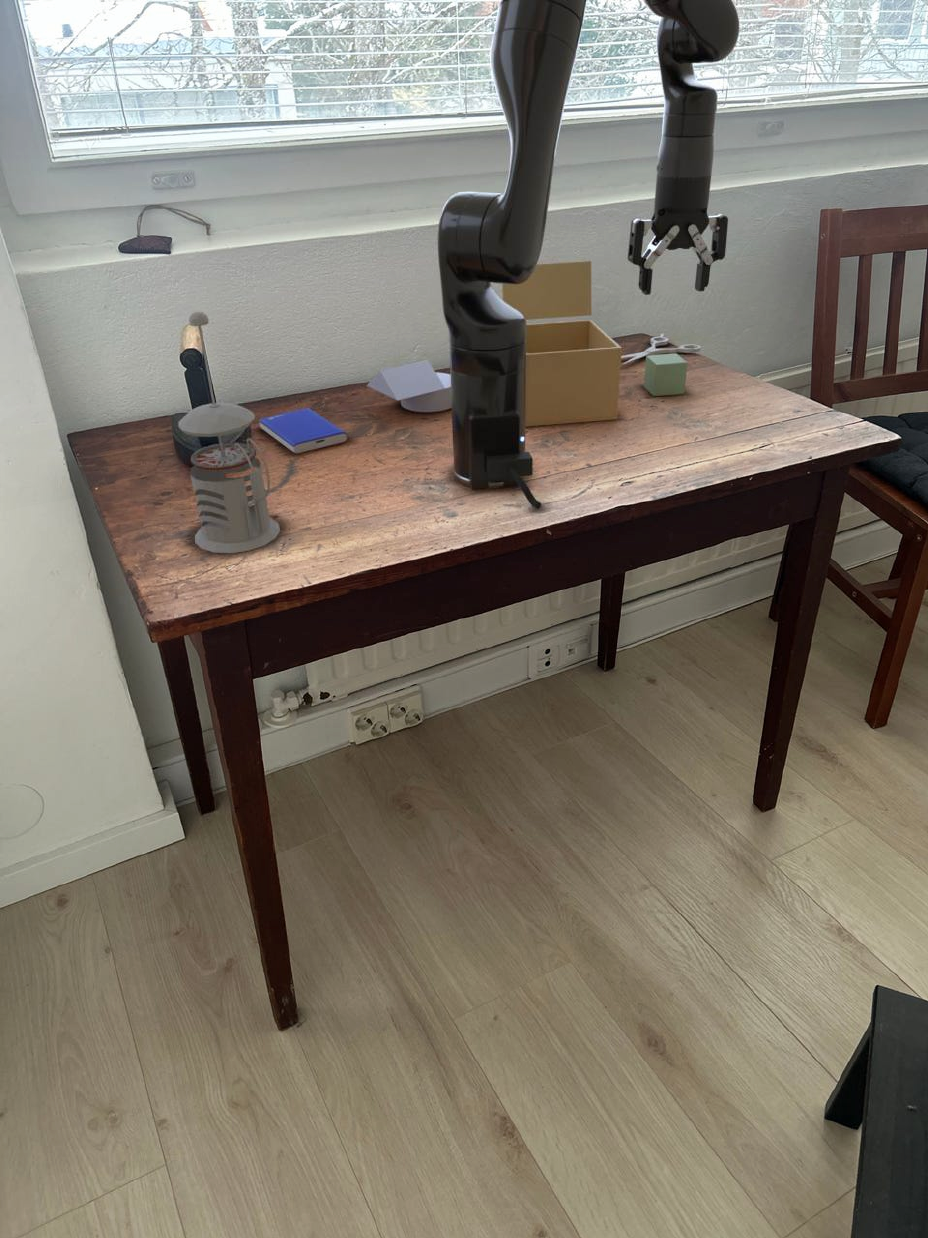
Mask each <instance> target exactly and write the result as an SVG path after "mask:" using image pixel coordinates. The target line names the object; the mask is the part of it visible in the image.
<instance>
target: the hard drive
mask: <svg viewBox="0 0 928 1238" xmlns="http://www.w3.org/2000/svg"><path fill="white" fill-rule="evenodd" d="M258 421H259V427H260V429H261V430H263V431H264V432H266V433H267V434H268V435H269V436H271V437H272V438H274V439H275V440H276V441H278V442H279V443H280V444H282V446H284V447H286V448H287V449H288V450H290V451H291V452H292V453H294V454H301V453H305V452H309V451H313V450H317V449H321V448H324V447H329V446H333V445H337V444H342V443H344V442H347V439H348V438H347V432H346V431H344V430H343V429H341V428H340V427H338V426H337V425H335V424H334V423H332V422H330V421H329V420H327V419H326V418H324V417H323V416H321V415H320V414H318V412H316V411H314V410H312V409H311V408H309V407H307V408H301V409H297V410H293V411H288V412H284V413H279V414H275V415H271V416H266V417H262V418H260V419H259V420H258Z"/></svg>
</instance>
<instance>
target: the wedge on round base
mask: <svg viewBox="0 0 928 1238" xmlns="http://www.w3.org/2000/svg"><path fill="white" fill-rule="evenodd" d="M366 387H368V388H370V389H373V390H374V391H377V392H379V393H381V394H382V395H385V396H386V397H389V398H391V399H393V400H396V401H400V405H401V407H402V408H404V409H406V410H408V411H411V412H416V413H417V412H418V413H435V412H436V413H437V412H442V411H446V410H450V409H452V403H451V374H449V373H445V372H436V371H435V369H434V368H433V366H432V365H431V363H430V361H429V360H428V359H424V360H420V361H416V362H412V363H407V364H402V365H399V366H394V367H390V368H385V369H381V370H379V371H378V372H377V373H376V374H375V376H373V378H372V379H371V380H370V381H369V382H368V384H366Z"/></svg>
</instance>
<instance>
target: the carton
mask: <svg viewBox="0 0 928 1238" xmlns="http://www.w3.org/2000/svg"><path fill="white" fill-rule="evenodd" d="M526 327H527V334H526V423H525V428H526V427H538V426H539V427H540V426H550V425H563V424H574V423H586V422H587V423H588V422H600V421H613V420H617V419H618V413H619V397H620V381H621V366H622V358H621V356H622V353H623V347H621V345H620V344H618V343H617V341H615V340H614V339H613V338H612V337H611V336H610V335H608V334H607V333H606V332H605V330H603V329H602V328H601V327H600V326H598V324H597V323H596V322H594V321H593V320H592V319H584V320H569V321H568V320H566V321H554V322H539V323H526Z"/></svg>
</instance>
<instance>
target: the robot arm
mask: <svg viewBox="0 0 928 1238" xmlns="http://www.w3.org/2000/svg"><path fill="white" fill-rule="evenodd" d="M642 2H643V4H644V5H645V7H646V8H647V9H648V10H649V12H651V13H652V14H653V15H654V16H656V17H659V18H660V20H659V22H658V25H657V30H656V37H655V38H656V39H655V42H656V43H655V44H656V45H655V47H656V54H657V61H658V62H657V63H658V67H659V73H660V81H661V88H662V95H663V101H664V102H663V103H664V105H663V106H664V107H663V117H662V127H661V128H662V129H661V139H660V145H659V149H658V156H657V163H656V180H655V194H654V205H653V206H654V207H653V209H654V210H653V214H652V217H651V218H650V219H640V218H637V217H634V218H632V220H631V221H630V232H629V240H628V249H627V250H628V251H627V261H628V262H630V263H631V264H633V265H635V266H638V268H639V270H638V271H639V272H638V285H637V286H638V289H639V290H640V291H641V293H642V294H643V295H645V296H649V295H650V296H651V293H652V282H653V270H654V268H652V266H653V265H654V263H655V262H656V261H657V259H658V258H660V257H661V256H662V255H663V254H664V252H665V251H666V250H668V251H675V250H678V249H681V250H690V249H692V251H693V252H694V253H695V255H696V257H697V258H698V260H699V262H697V264H696V270H695V271H696V273H695V280H694V281H695V282H694V289H695V291H697V292H705V288H707V287H708V286H709V284H710V283H709V282H710V275H711V268H712V267H711V266H712V265H713V263H715V262H717V261H719V260H720V261H722V260H724V259H725V257H726V249H727V240H728V239H727V238H728V226H729V225H728V224H729V217H728V216H727V215H725V214H721V213H716V214H715V215H709V214H708V207H709V202H710V201H709V200H710V193H711V192H710V191H711V183H712V173H713V163H714V154H715V153H714V152H715V150H714V149H715V148H714V145H715V144H714V137H715V135H714V134H715V129H716V118H717V111H718V110H717V109H718V91H717V90H716V88H715V87H714V86H712V85H709V84H706V83H703V82H701V81H699V80H698V79H697V76H696V73H695V67H694V64H713V63H719V62H721V61H723V60H725V59H726V58H728V56H730V54H731V53H732V52H733V51H734V49H735V48H736V45H737V43H738V40H739V37H740V26H741V24H740V18H739V12H738V9H737V7H736V5H735V2H734V0H642ZM587 3H588V0H499V3H498V8H497V12H496V13H497V14H496V19H495V24H494V29H493V34H492V39H491V45H490V50H489V51H490V52H489V65H490V72H491V73H490V74H491V77H492V82H493V85H494V89H495V92H496V95H497V98H498V102H499V105H500V108H501V110H502V113H503V116H504V118H505V121H506V125H507V126H506V127H507V129H508V134H509V140H510V160H509V161H510V162H509V170H508V175H507V176H508V177H507V181H506V186H505V188H504V189H505V190H504V193H498V192H485V191H484V192H483V191H482V192H481V191H459V192H456V193H454V194H453V195H452V196H450V198H448V199H447V201H446V202H445V203H444V205H443V208H442V210H441V213H440V217H439V221H438V227H437V259H438V260H437V261H438V269H439V280H440V291H441V304H442V313H443V318H444V321H445V325H446V326H447V329H448V342H449V368H450V369H449V373H450V375H451V403H452V408H451V427H452V451H453V452H452V453H453V455H452V456H453V467H452V473H453V477H454V479H455V480H456V481H457V482H458V483H460V484H463V485H465V486H467V487H469V488H470V489H471V491H476V490H477V491H478V490H487V489H488V490H489V489H500V488H509V487H511V488H512V487H519V489H520V490H521V491H522V493H523V495H524V497H525V498H526V499H527V502H528V503H529V504H530V505H531V506H532V507H533V508H535V509H538V510H539V509H540V508H541V507H542V503H541V502H540V501H538V500H537V499H536V498H535V496H534V495H533V493H532V491H531V490H530V488H529V486H528V484H526V482H525V480H524V479H525V477H528V476H529V477H531V476H533V472H534V471H533V467H534V464H533V462H534V458H533V456H532V455H531V453H530V451H526V427H525V423H526V334H527V327H526V324H527V320H526V319H525V317H524V315H523V314H522V313H521V312H520V311H518V310H517V309H515V308H513V307H512V306H510V305H509V304H507V303H506V302H504V301H503V299H502V298H501V296H500V295H498V294H497V292H496V291H495V290H494V288H493V286H492V283H493V284H501V285H502V284H511V285H515V284H521V283H524V282H525V281H526V280H527V279H528V278H529V277H530V276H531V274H532V273H533V271H534V269H535V267H536V265H537V264H538V262H539V259H540V255H541V252H542V248H543V243H544V238H545V231H546V225H547V219H548V211H549V203H550V194H551V189H552V181H553V174H554V168H555V167H554V165H555V160H556V159H555V158H556V152H557V146H558V141H559V135H560V131H561V125H562V122H563V121H562V120H563V116H564V111H565V106H566V103H567V102H566V101H567V96H568V93H569V88H570V84H571V79H572V75H573V72H574V67H575V64H576V59H577V55H578V50H579V47H580V41H581V36H582V32H583V27H584V21H585V14H586V9H587ZM708 226H709V230H710V231H711V233H712V235H711V237H712V238H711V245H710V246H711V247H710V250H709V249H708V246H707V244H706V241H705V240H704V239H703V237H702V235H703V233H704V232H705V231H706V230H707V227H708ZM650 229H651V231H652V233H653V235H654V236H653V237H652V239H651V241H650V242H649V243H648V245H647V246H646V249H645V251H644V252H643V253H642V251H643V244H644V243H643V242H644V237H646V236H647V234H648V232H649V230H650Z"/></svg>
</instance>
